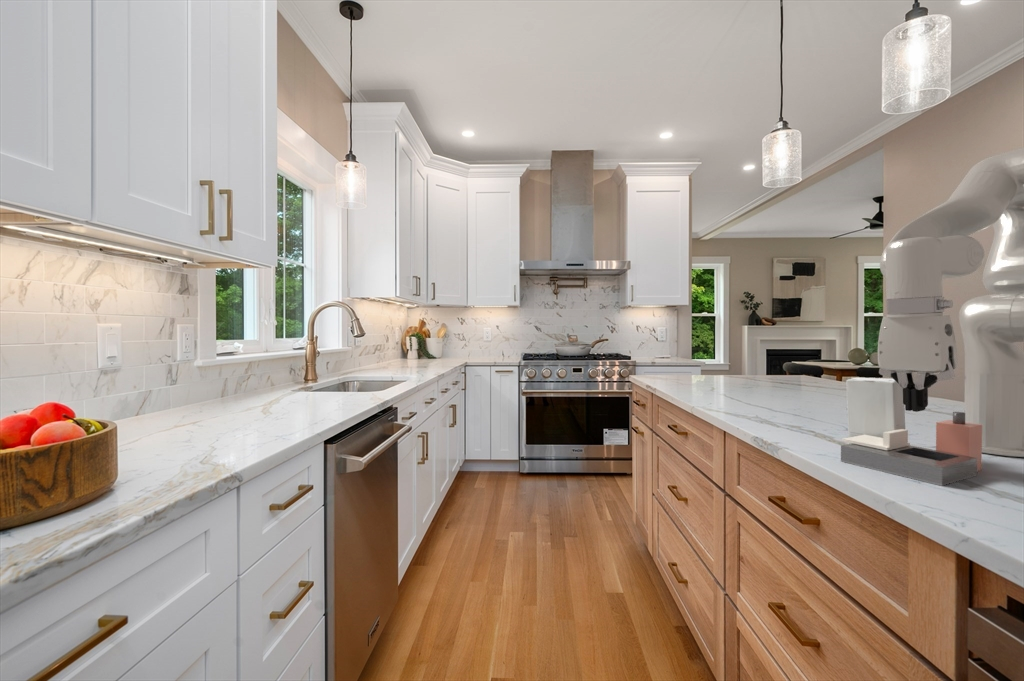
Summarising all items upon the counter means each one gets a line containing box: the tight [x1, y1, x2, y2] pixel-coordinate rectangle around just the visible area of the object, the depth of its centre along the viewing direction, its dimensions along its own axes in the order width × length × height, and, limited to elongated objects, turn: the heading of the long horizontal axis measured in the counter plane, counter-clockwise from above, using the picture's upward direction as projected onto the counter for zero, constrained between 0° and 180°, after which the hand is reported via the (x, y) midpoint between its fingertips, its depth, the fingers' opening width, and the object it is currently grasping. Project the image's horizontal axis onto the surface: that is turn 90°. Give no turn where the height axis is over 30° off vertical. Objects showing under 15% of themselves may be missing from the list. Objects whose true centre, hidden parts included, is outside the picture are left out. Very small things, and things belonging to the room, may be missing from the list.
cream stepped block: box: [841, 429, 911, 450], centre depth 87 cm, size 8×8×3 cm
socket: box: [840, 443, 978, 487], centre depth 82 cm, size 12×15×3 cm
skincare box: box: [845, 376, 906, 444], centre depth 93 cm, size 8×6×15 cm
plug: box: [935, 411, 983, 471], centre depth 81 cm, size 4×4×10 cm
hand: (915, 409), depth 82 cm, fingers closed
